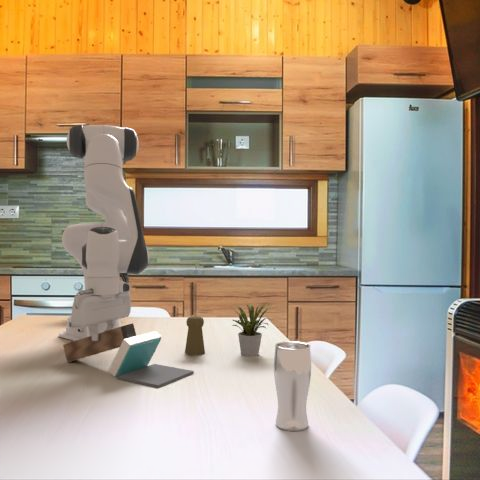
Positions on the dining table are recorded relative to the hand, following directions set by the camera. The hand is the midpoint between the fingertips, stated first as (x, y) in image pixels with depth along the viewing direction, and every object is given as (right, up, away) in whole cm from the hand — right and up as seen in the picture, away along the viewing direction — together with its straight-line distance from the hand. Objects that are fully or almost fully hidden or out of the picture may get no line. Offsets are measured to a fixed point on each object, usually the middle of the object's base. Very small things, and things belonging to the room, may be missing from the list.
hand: (102, 338), depth 131 cm
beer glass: (+47, -8, -40) cm, 62 cm away
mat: (+16, -8, -9) cm, 20 cm away
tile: (+8, -7, -4) cm, 11 cm away
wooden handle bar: (0, -4, 0) cm, 4 cm away
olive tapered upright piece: (+24, -8, +15) cm, 29 cm away
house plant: (+41, -8, +14) cm, 44 cm away
